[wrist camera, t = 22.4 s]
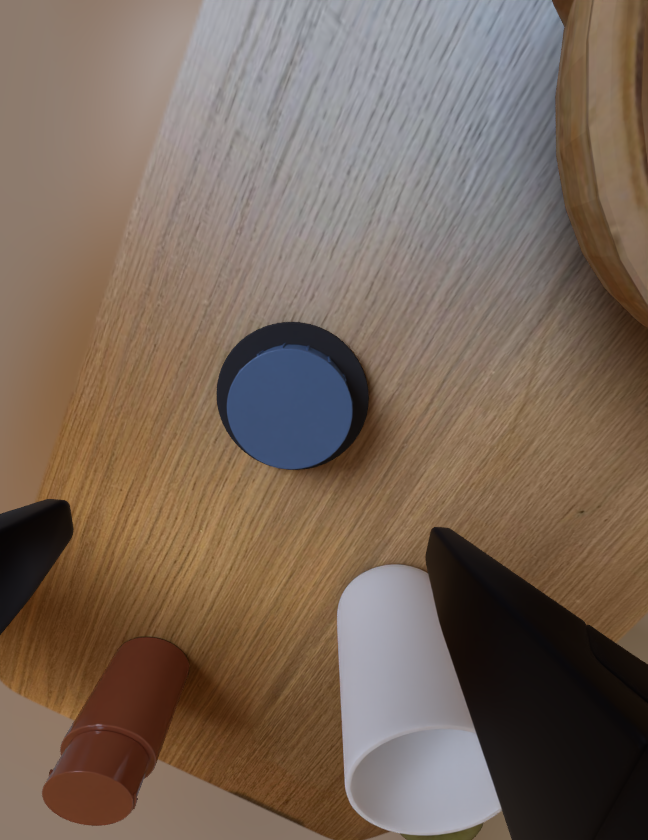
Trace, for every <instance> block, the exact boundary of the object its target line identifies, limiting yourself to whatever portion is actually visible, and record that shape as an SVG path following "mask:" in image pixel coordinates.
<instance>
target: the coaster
mask: <svg viewBox="0 0 648 840" xmlns="http://www.w3.org/2000/svg"><path fill="white" fill-rule="evenodd" d="M284 343H286V345H289V344H291V345H302V346H309V347H310V348H313V349H315V350H317V351H319V352H321V353H323V354H324V355H326V356H327V357H330V359H331V360H332V361H333V362H334V363H335V364H336V365H337V367H338V368H339V369H340V371H341V372H342V374H344V375H345V378H346V380H347V381H346V383H347V386H348V389H349V392H350V395H351V398H352V401H353V404H352V409H353V411H352V421H351V426H350V429H349V432H348V434H347V436H346V438H345V440H344V441H343V443H342V444H341V446H340V447H339V448H338V449H337V450H336V452H334V453H333V454H332V455H331V456H330V457H328V458H327V459H325V460H324V461H322V462H320V463H318V464H316V465H313V466H310V467H306V468H302V469H308V468H313V467H317V466H320V465H322V464H325V463H327V462H329V461H331V460H333V459H335V458H336V457H338V456H339V455H340V454H342V453H343V452H344V451H345V450H346V449H347V448H348V447H349V446H350V445H351V444H352V443H353V442H354V440H355V439H356V437H357V436H358V434H359V433H360V431H361V429H362V427H363V424H364V422H365V419H366V415H367V410H368V401H369V395H368V386H367V381H366V377H365V374H364V371H363V369H362V367H361V365H360V363H359V361H358V359H357V358H356V356H355V355H354V353H353V352H352V351H351V350H350V348H349V347H348V346H347V345H346V344H345V343H344V342H343V341H341V340H340V339H339V338H338V337H337V336H335V335H333V334H332V333H330V332H329V331H327V330H324V329H322V328H320V327H317V326H314V325H311V324H306V323H300V322H283V323H276V324H272V325H268V326H265V327H263V328H261V329H258V330H256V331H254V332H253V333H251V334H249V335H248V336H246V337H245V338H244V339H242V340H241V341H240V342H239V343H238V344H237V345H236V346H235V347H234V348H233V349H232V351H231V352H230V354H229V355H228V356H227V358H226V360H225V362H224V364H223V366H222V369H221V371H220V374H219V378H218V383H217V405H218V410H219V414H220V417H221V420H222V423H223V425H224V427H225V428H226V430H227V432H228V434H229V435H230V437H231V438H232V439H233V441H234V442H235V443H236V444H237V445H238V446H239V447H240V448H241V449H242V450H243V451H244V452H245V453H247V454H248V455H250V454H249V453H248V452H247V451H245V450H244V448H243V447H242V446H241V445H240V444H239V442H238V441H237V439H236V438H235V436H234V434H233V432H232V430H231V427H230V424H229V421H228V416H227V399H228V394H229V390H230V387H231V385H232V383H233V381H234V379H235V377H236V375H237V374H238V373H239V372H238V371H239V370H240V369H241V368H243V367H244V366H245V365H246V364H247V363H248V362H250V361H251V360H252V359H254V358H255V357H256V356H257V354H258V353H260V352H261V351H266V350H268V349H271V348H273V347H277V346H281V345H283V344H284ZM250 456H251V455H250ZM251 457H252V458H254V457H253V456H251ZM254 459H255V458H254ZM256 460H257V459H256ZM258 461H259V460H258ZM260 462H261V461H260ZM264 464H265V463H264ZM269 466H270V465H269ZM276 468H277V467H276ZM281 469H282V468H281ZM288 470H300V469H288Z"/></svg>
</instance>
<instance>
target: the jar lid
mask: <svg viewBox="0 0 648 840" xmlns="http://www.w3.org/2000/svg"><path fill="white" fill-rule="evenodd" d="M238 372H239V373H238V374H237V375H236V377H235V379H234V381H233V383H232V385H231V387H230V390H229V394H228V399H227V416H228V421H229V424H230V427H231V430H232V432H233V434H234V436H235V438H236V439H237V441H238V442H239V444H240V445H241V446H242V447H243V448H244V450H245V451H247V452H248V453H249V454H250V455H251V456H253V457H254V458H255V459H257V460H259V461H261V462H262V463H265V464H267V465H270V466H273V467H277V468H282V469H302V468H306V467H310V466H313V465H316V464H318V463H320V462H322V461H324V460H325V459H327V458H328V457H330V456H331V455H332V454H333V453H334V452H336V450H337V449H338V448H339V447H340V446H341V444H342V443H343V441H344V440H345V438H346V436H347V434H348V432H349V429H350V426H351V421H352V411H353V409H352V404H353V401H352V398H351V395H350V392H349V389H348V386H347V383H346V381H347V380H346V378H345V375H344V374H342V372H341V371H340V369H339V368H338V367H337V365H336V364H335V363H334V362H333V361H332V360H331V359H330V357H327V356H326V355H324V354H323V353H321V352H319V351H317V350H315V349H313V348H310V347H309V346H302V345H291V344H289V345H286V343H284V344H283V345H281V346H277V347H273V348H271V349H268V350H266V351H261V352H260V353H258V354H257V356H256V357H255V358H254V359H252V360H251V361H250V362H248V363H247V364H246V365H245V366H244V367H243V368H241V369H240V370H239V371H238Z"/></svg>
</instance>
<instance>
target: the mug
mask: <svg viewBox="0 0 648 840" xmlns="http://www.w3.org/2000/svg"><path fill="white" fill-rule="evenodd" d="M337 632H338V652H339V673H340V693H341V714H342V734H343V755H344V776H345V789H346V794H347V796H348V799H349V802H350V803H351V805H352V807H353V808H354V809H355V810H356V812H357V813H358V814H359V815H360V816H362V817H363V818H364V819H365V820H367V821H369V822H370V823H372V824H374V825H376V826H378V827H380V828H383V829H386V830H389V831H393V832H397V833H402V834H408V835H441V834H447V833H453V832H457V831H462V830H465V829H468V828H471V827H474V826H476V825H479V824H481V823H483V822H485V821H487V820H489V819H491V818H492V817H494V816H495V815H497V814H498V813H499V812H501V811H502V809H501V806H500V803H499V800H498V797H497V794H496V791H495V788H494V785H493V782H492V779H491V776H490V773H489V770H488V767H487V764H486V761H485V758H484V755H483V752H482V749H481V746H480V743H479V740H478V737H477V734H476V731H475V728H474V725H473V722H472V719H471V716H470V713H469V710H468V707H467V705H466V702H465V699H464V696H463V693H462V690H461V687H460V684H459V681H458V678H457V675H456V672H455V669H454V666H453V663H452V660H451V657H450V654H449V651H448V648H447V645H446V642H445V639H444V636H443V633H442V630H441V627H440V623H439V619H438V615H437V611H436V607H435V602H434V598H433V593H432V589H431V584H430V580H429V575H428V573H426V572H425V571H423V570H421V569H418V568H415V567H412V566H408V565H400V564H391V565H383V566H379V567H375V568H372V569H370V570H368V571H365V572H364V573H362V574H360V575H359V576H357V577H356V578H355V579H354V580H353V581H352V582H351V583H350V584H349V585H348V586H347V587H346V589H345V590H344V592H343V594H342V596H341V598H340V601H339V605H338V612H337Z"/></svg>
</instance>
